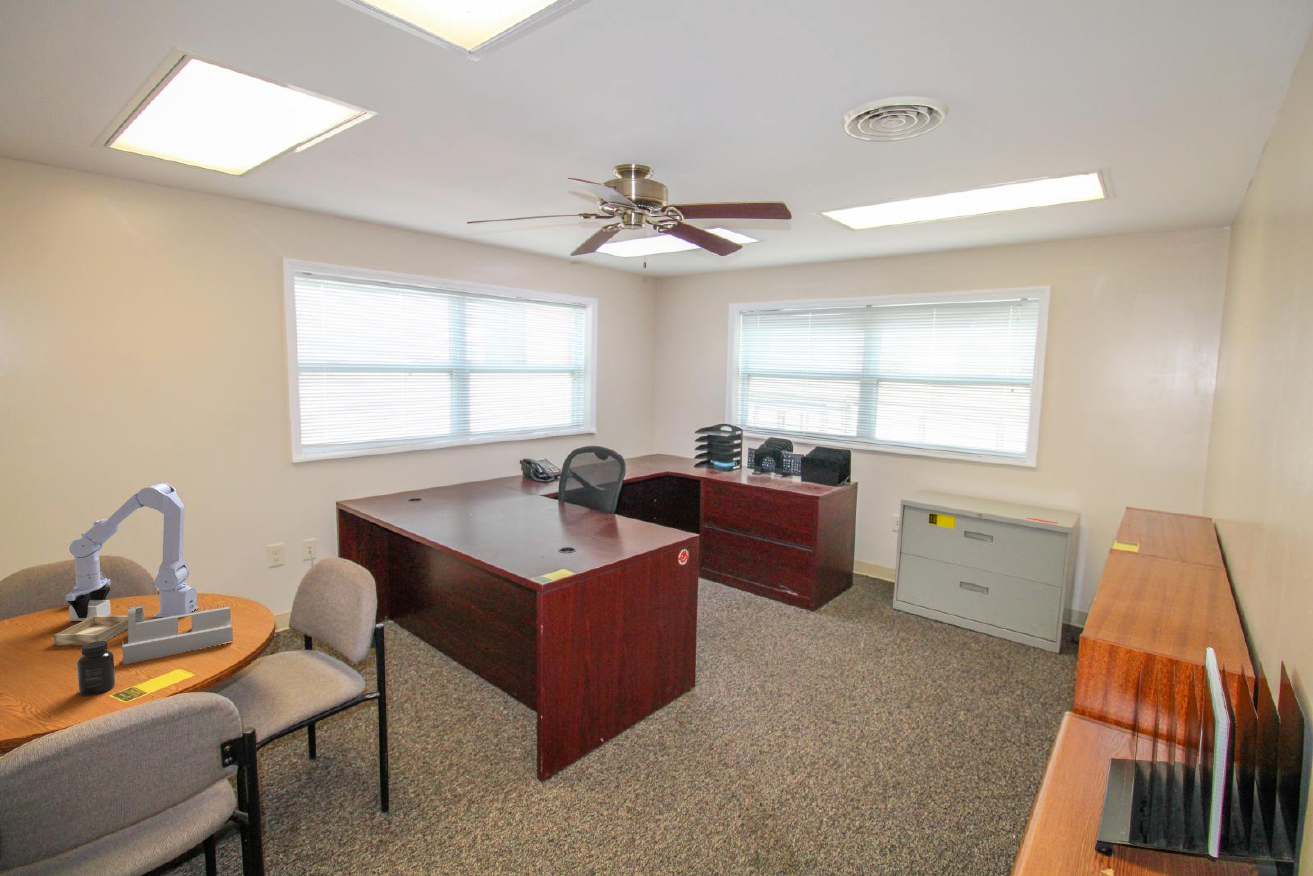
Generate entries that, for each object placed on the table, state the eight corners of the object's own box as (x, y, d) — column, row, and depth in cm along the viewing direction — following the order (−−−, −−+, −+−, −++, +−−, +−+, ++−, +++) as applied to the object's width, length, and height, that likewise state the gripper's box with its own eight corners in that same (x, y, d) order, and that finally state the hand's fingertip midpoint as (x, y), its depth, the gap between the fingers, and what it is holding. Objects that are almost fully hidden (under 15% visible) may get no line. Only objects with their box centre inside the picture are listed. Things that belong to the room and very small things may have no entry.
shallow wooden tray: (135, 625, 190) (134, 615, 190) (98, 645, 176) (97, 635, 176) (94, 625, 189) (93, 615, 188) (54, 645, 175) (53, 635, 174)
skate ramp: (123, 665, 166) (121, 631, 165) (130, 635, 184) (128, 604, 183) (233, 644, 181) (231, 612, 180) (229, 618, 199) (228, 589, 198)
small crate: (110, 614, 196) (110, 600, 196) (97, 621, 191) (96, 606, 190) (84, 614, 195) (83, 600, 195) (70, 621, 190) (69, 606, 190)
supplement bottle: (122, 682, 157) (120, 639, 155) (99, 696, 150) (96, 651, 149) (95, 682, 156) (93, 638, 155) (71, 696, 150) (68, 650, 148)
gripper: (93, 566, 198) (95, 605, 200) (53, 581, 184) (56, 623, 185) (116, 566, 199) (118, 605, 200) (78, 581, 185) (81, 623, 186)
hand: (90, 614), depth 193 cm, fingers closed on small crate, 5 cm apart
